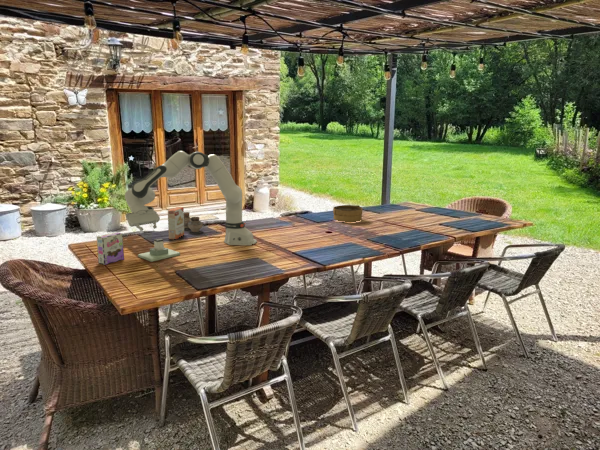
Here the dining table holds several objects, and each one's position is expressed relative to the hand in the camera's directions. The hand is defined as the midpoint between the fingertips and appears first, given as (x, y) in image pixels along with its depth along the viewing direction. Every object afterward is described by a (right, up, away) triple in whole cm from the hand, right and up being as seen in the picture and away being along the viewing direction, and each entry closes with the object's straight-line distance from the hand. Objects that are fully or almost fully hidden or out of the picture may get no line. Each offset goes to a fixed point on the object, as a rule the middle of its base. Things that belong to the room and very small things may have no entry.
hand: (148, 229), depth 293 cm
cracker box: (+7, -6, +42) cm, 43 cm away
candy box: (-17, -19, -15) cm, 30 cm away
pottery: (+11, -1, +66) cm, 67 cm away
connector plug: (+8, -15, -4) cm, 17 cm away
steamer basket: (+135, +6, +106) cm, 172 cm away
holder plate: (+8, -16, -3) cm, 18 cm away
